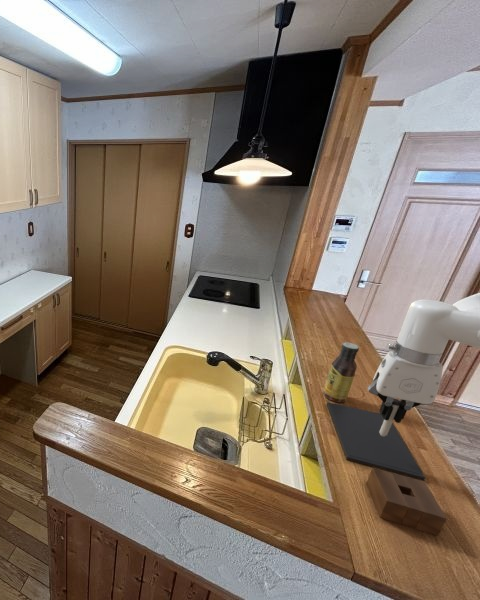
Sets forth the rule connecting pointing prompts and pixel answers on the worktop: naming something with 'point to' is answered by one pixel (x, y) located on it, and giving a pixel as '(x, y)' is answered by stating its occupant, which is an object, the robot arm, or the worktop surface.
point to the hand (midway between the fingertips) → (389, 417)
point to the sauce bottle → (341, 374)
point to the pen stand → (405, 501)
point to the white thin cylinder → (388, 423)
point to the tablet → (372, 441)
